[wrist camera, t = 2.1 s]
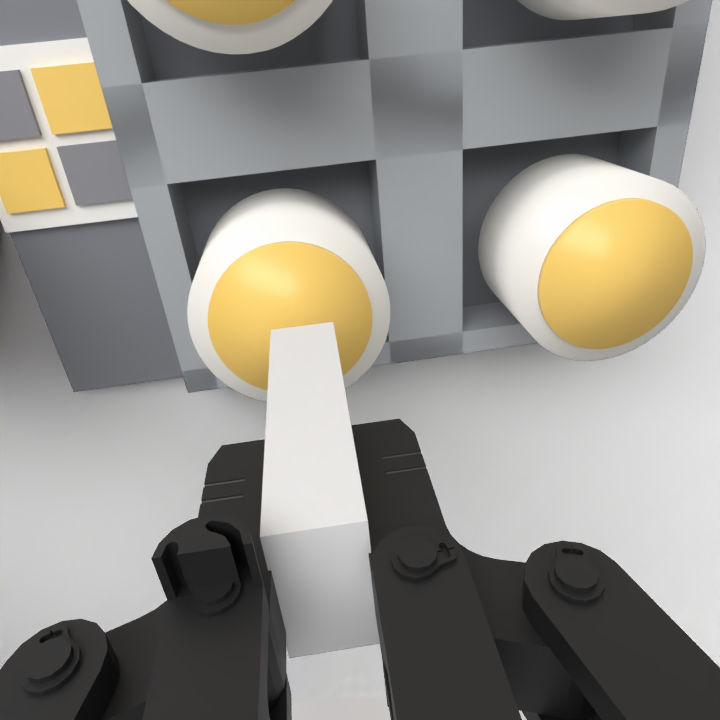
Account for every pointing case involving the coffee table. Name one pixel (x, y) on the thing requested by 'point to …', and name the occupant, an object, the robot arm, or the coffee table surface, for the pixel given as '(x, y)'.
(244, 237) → the button
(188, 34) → the button
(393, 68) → the board
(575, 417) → the coffee table surface
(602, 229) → the button
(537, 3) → the button
